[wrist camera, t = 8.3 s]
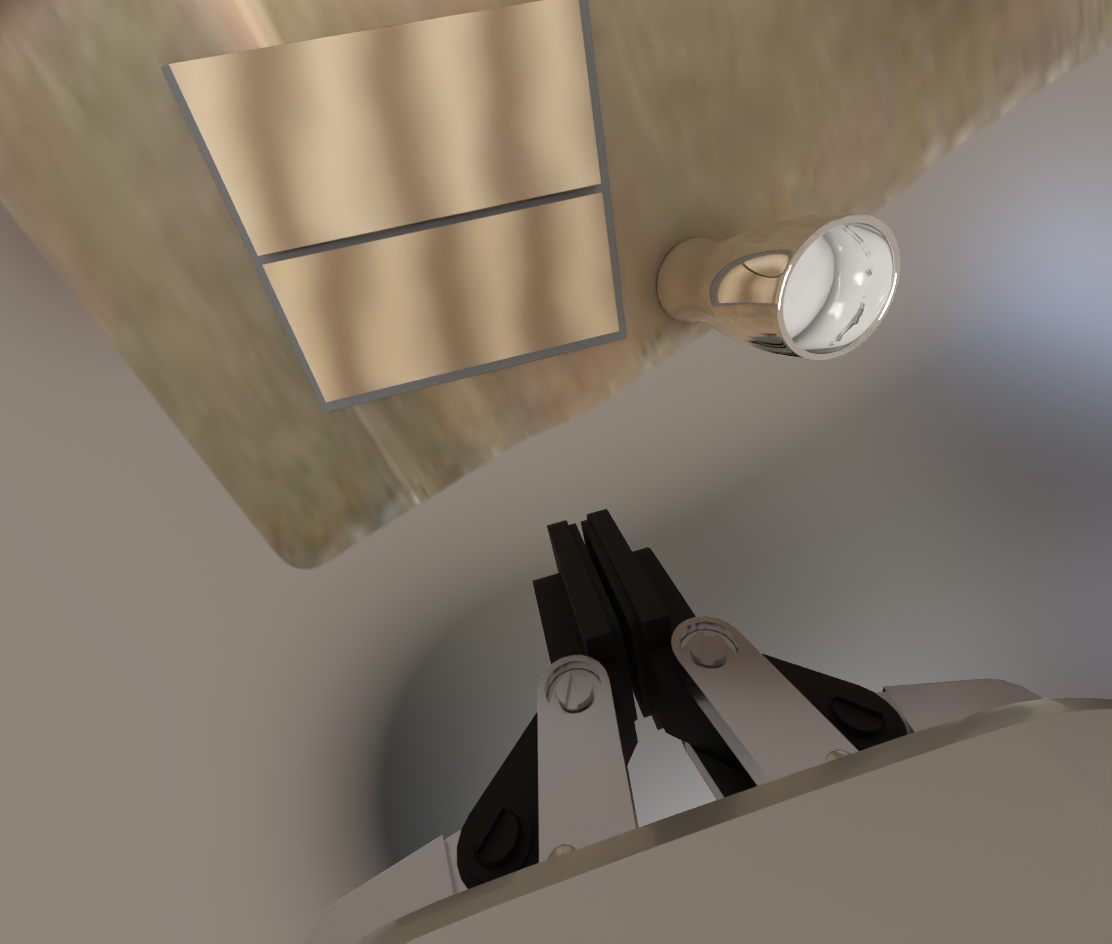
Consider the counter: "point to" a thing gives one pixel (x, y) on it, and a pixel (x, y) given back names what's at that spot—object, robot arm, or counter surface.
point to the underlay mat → (461, 373)
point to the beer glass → (788, 283)
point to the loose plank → (450, 296)
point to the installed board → (398, 123)
